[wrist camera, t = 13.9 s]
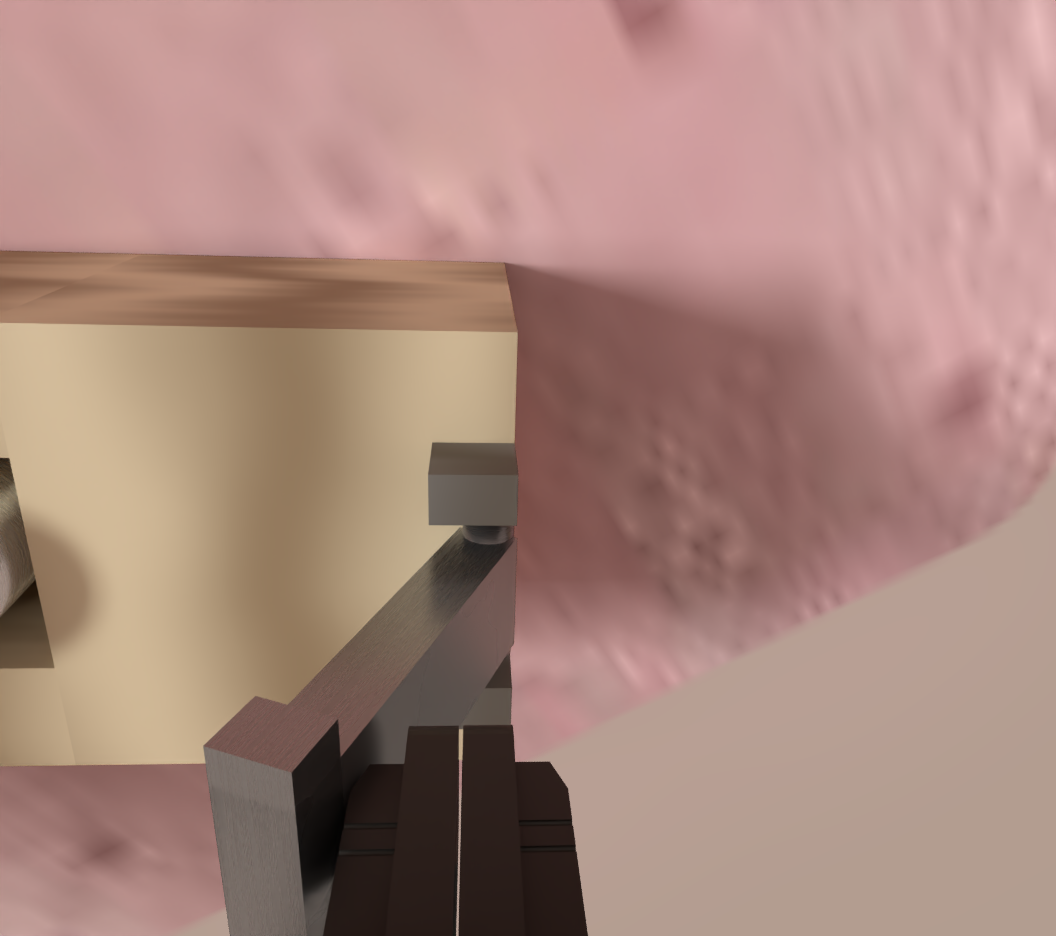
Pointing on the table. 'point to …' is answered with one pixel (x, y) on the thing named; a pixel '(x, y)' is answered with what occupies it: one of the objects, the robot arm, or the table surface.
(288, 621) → the block
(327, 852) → the grey handle
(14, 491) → the pin
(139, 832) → the table surface
